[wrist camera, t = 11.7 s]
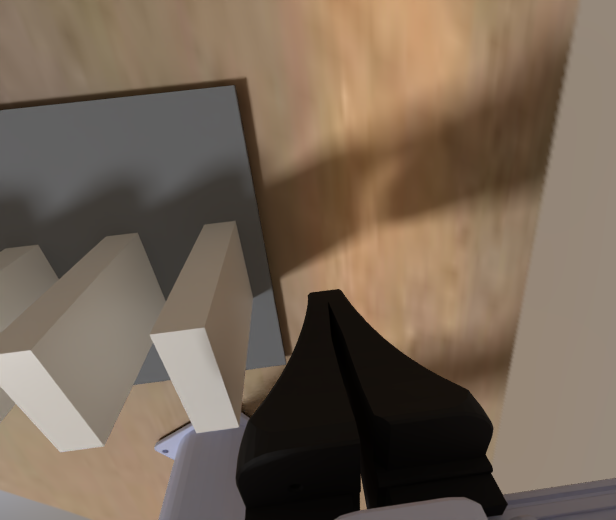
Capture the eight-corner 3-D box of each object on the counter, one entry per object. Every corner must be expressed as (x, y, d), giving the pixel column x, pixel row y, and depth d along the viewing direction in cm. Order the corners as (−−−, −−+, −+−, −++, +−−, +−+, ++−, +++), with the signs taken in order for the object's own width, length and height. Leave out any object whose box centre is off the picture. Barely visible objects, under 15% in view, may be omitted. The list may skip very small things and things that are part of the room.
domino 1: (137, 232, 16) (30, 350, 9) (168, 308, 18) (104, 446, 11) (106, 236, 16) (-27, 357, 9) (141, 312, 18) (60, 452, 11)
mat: (235, 85, 13) (234, 85, 13) (285, 360, 22) (286, 364, 22) (-355, 148, 13) (-373, 150, 12) (-63, 406, 21) (-69, 412, 21)
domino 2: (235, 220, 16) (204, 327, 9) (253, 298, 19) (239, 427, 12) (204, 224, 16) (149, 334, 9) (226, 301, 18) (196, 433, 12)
